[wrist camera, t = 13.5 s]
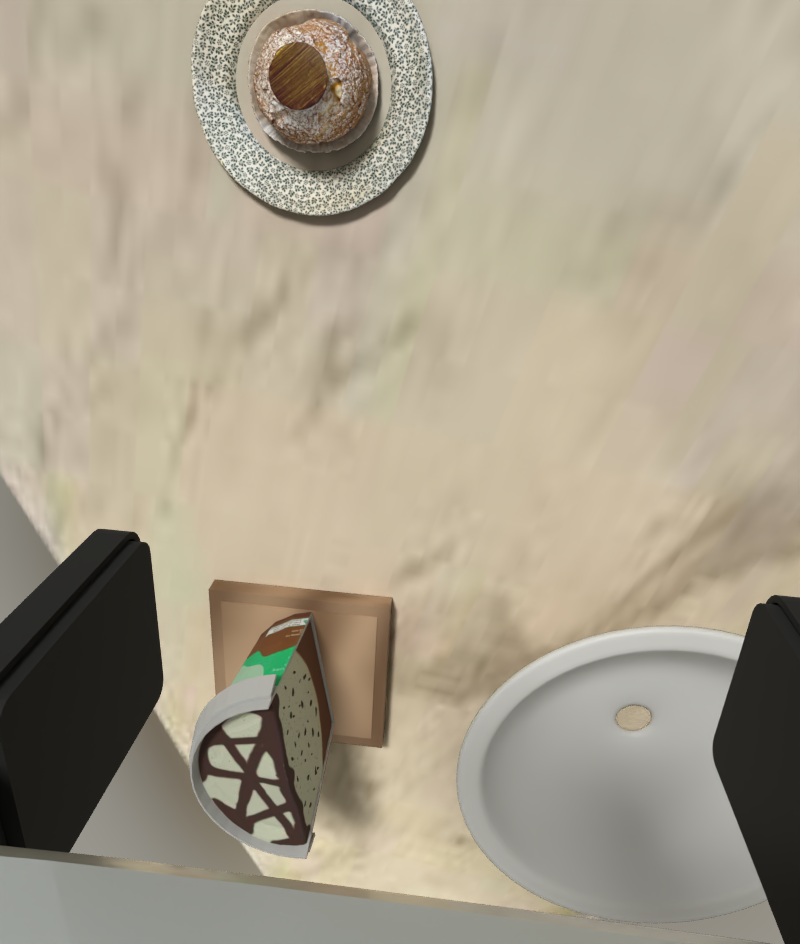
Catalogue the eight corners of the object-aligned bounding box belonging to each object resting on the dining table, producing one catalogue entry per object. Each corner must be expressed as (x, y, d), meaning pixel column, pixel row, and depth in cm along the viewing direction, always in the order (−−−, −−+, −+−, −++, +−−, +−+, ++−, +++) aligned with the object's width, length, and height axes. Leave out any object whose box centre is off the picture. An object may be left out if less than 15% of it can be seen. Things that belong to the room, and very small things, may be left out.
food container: (217, 597, 47) (154, 703, 38) (307, 592, 46) (266, 700, 37) (255, 740, 52) (208, 865, 43) (338, 738, 51) (308, 865, 42)
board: (391, 597, 47) (389, 608, 46) (383, 735, 52) (381, 748, 51) (214, 579, 48) (208, 590, 47) (223, 716, 53) (217, 729, 52)
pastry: (400, 240, 38) (391, 250, 34) (184, 179, 38) (148, 181, 34) (463, -18, 33) (462, -43, 29) (215, -89, 33) (178, -125, 29)
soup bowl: (768, 513, 42) (817, 573, 36) (854, 795, 50) (905, 882, 44) (403, 632, 48) (392, 700, 42) (530, 867, 56) (537, 952, 50)
